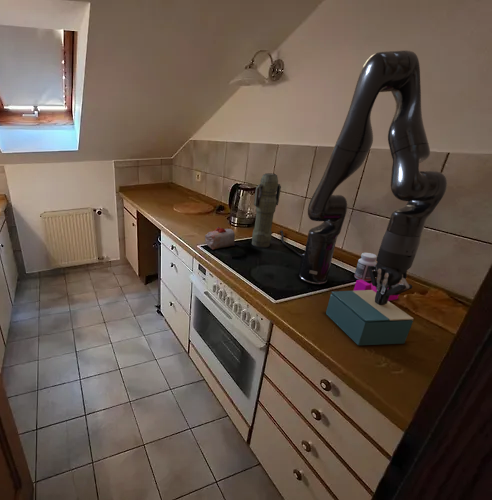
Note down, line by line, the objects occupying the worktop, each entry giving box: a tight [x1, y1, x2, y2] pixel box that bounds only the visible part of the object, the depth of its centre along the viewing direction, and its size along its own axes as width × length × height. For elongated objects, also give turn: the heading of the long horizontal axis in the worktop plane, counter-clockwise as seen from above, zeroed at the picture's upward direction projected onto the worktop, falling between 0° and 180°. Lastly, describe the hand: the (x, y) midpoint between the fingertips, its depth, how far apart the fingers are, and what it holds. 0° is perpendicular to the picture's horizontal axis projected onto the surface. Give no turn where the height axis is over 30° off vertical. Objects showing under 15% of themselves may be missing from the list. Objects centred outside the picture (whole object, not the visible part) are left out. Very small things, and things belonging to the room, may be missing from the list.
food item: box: [204, 226, 236, 250], centre depth 148 cm, size 14×8×10 cm, turn 109°
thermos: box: [251, 172, 282, 249], centre depth 144 cm, size 9×12×35 cm
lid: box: [352, 290, 414, 321], centre depth 86 cm, size 15×6×1 cm, turn 2°
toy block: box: [352, 279, 400, 302], centre depth 102 cm, size 15×6×8 cm, turn 101°
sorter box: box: [325, 290, 414, 346], centre depth 87 cm, size 15×13×8 cm
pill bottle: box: [353, 252, 377, 282], centre depth 114 cm, size 6×6×10 cm
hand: (379, 303), depth 86 cm, fingers closed
